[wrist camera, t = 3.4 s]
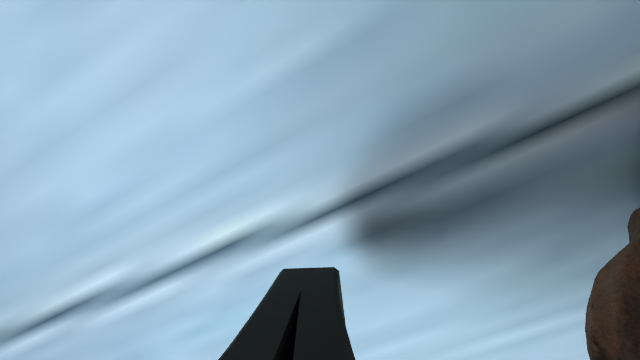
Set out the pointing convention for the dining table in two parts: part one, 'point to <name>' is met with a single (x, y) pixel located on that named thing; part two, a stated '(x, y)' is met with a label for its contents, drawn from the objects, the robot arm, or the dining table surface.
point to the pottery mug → (617, 303)
